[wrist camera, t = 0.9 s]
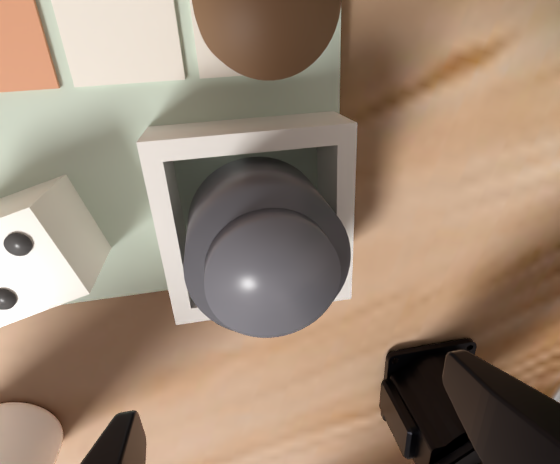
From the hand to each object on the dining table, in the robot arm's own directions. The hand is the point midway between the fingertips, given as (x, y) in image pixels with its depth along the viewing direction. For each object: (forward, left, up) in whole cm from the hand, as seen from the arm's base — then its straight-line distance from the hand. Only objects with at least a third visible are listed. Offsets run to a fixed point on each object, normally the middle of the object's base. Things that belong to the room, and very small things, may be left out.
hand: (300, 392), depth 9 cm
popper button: (0, 0, -9) cm, 9 cm away
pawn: (-1, -8, -12) cm, 14 cm away
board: (+4, -4, -12) cm, 14 cm away
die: (+9, 0, -12) cm, 15 cm away
